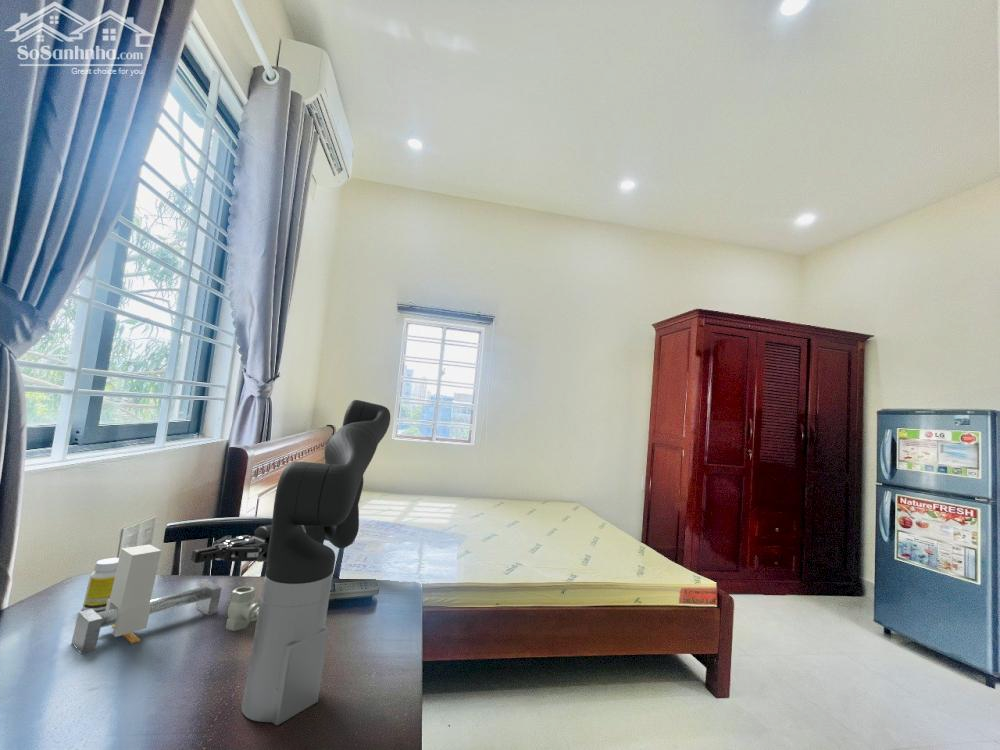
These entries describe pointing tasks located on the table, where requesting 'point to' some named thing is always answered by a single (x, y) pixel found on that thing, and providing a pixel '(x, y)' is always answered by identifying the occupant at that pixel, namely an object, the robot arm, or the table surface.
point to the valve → (242, 608)
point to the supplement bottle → (100, 584)
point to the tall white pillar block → (133, 588)
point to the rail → (93, 621)
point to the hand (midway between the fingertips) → (193, 556)
